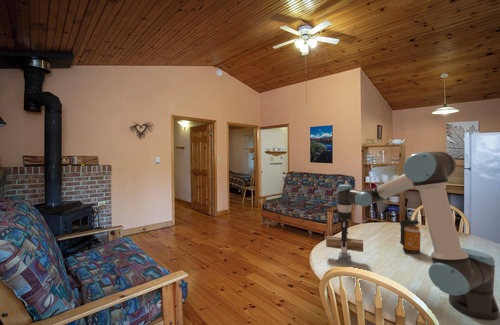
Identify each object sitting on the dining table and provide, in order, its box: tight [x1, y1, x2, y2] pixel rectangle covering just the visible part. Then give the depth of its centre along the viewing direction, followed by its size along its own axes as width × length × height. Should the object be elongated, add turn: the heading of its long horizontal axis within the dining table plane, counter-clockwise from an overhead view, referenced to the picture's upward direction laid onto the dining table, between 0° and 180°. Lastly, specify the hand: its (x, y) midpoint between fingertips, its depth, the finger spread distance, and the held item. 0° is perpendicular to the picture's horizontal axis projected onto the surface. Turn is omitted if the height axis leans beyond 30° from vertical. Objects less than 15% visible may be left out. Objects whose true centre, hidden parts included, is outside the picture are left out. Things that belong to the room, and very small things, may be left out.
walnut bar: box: [325, 235, 364, 253], centre depth 144 cm, size 5×20×5 cm, turn 66°
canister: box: [399, 219, 422, 254], centre depth 153 cm, size 9×11×20 cm
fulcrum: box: [337, 251, 351, 265], centre depth 144 cm, size 12×6×7 cm, turn 156°
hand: (344, 248), depth 144 cm, fingers open, 10 cm apart
